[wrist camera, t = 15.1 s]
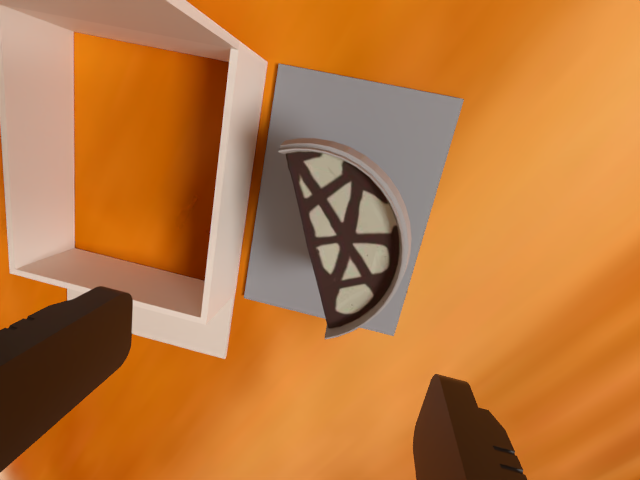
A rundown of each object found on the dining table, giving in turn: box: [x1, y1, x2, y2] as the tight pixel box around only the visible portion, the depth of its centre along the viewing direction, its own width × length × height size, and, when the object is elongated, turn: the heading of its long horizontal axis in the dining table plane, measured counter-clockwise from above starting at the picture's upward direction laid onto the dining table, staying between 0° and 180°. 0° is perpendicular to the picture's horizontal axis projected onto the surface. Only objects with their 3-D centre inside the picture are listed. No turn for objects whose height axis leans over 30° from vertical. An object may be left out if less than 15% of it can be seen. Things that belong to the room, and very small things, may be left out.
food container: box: [278, 138, 411, 339], centre depth 24 cm, size 12×6×10 cm, turn 13°
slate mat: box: [244, 64, 464, 336], centre depth 29 cm, size 14×20×1 cm
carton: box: [0, 0, 268, 359], centre depth 25 cm, size 17×27×15 cm, turn 168°
